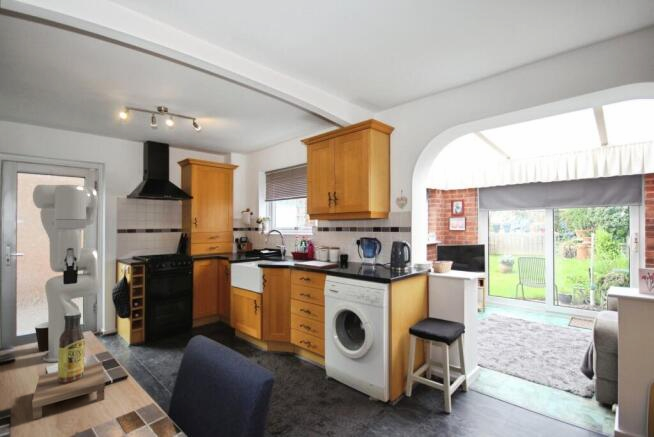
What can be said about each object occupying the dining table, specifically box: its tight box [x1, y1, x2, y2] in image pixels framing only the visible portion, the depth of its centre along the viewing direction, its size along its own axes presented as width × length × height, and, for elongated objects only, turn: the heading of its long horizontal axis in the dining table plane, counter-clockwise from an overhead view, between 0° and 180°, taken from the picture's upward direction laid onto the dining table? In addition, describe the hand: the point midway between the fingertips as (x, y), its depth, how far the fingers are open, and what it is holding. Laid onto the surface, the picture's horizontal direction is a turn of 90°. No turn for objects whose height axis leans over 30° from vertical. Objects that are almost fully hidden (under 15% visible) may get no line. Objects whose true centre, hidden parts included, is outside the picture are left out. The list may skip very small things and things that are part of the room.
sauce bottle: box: [57, 311, 86, 383], centre depth 97 cm, size 6×6×20 cm
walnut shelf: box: [31, 361, 106, 420], centre depth 97 cm, size 18×16×5 cm
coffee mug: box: [34, 321, 49, 353], centre depth 133 cm, size 12×9×10 cm
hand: (70, 280), depth 97 cm, fingers open, 9 cm apart
